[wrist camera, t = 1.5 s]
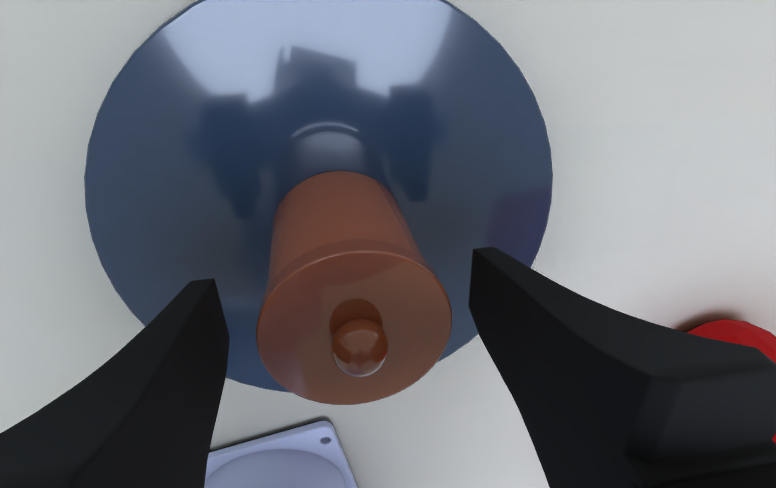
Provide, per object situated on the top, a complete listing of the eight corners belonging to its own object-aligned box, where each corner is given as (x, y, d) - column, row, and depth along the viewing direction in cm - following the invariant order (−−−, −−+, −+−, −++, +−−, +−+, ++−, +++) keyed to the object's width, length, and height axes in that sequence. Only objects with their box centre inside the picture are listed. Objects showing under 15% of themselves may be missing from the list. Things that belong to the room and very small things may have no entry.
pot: (417, 269, 18) (476, 408, 12) (292, 303, 17) (291, 461, 12) (392, 149, 15) (452, 251, 9) (246, 186, 15) (216, 315, 9)
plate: (545, 322, 22) (555, 336, 21) (210, 416, 21) (207, 435, 20) (534, -88, 13) (550, -93, 12) (-20, 41, 13) (-44, 45, 12)
